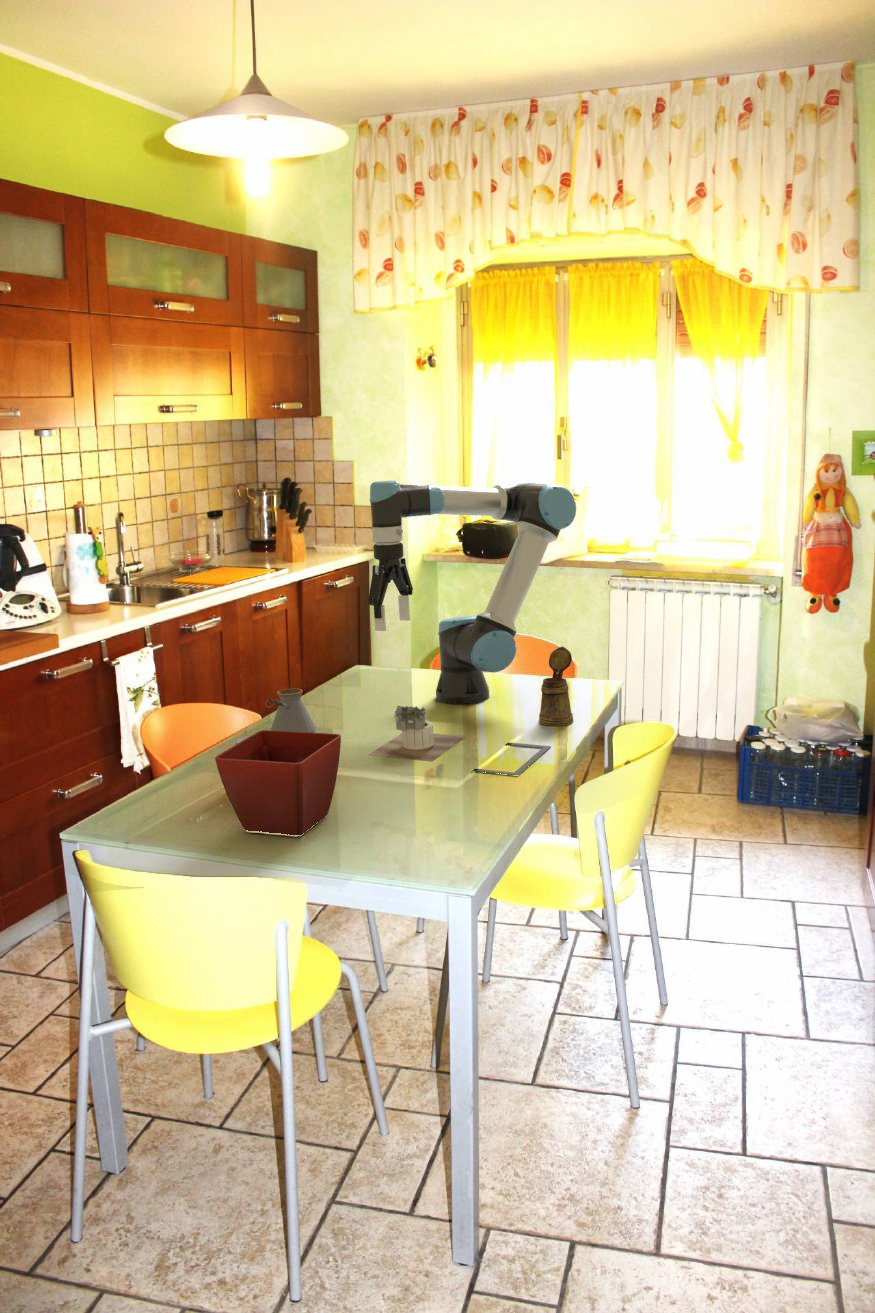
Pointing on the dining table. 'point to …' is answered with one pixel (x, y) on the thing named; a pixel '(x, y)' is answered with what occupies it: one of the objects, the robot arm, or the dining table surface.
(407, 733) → the cream hollow cylinder
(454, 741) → the walnut board
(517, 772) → the mat border
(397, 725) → the egg carton
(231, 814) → the dining table surface
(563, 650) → the wooden mug
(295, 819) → the plant pot
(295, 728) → the coffee pot
